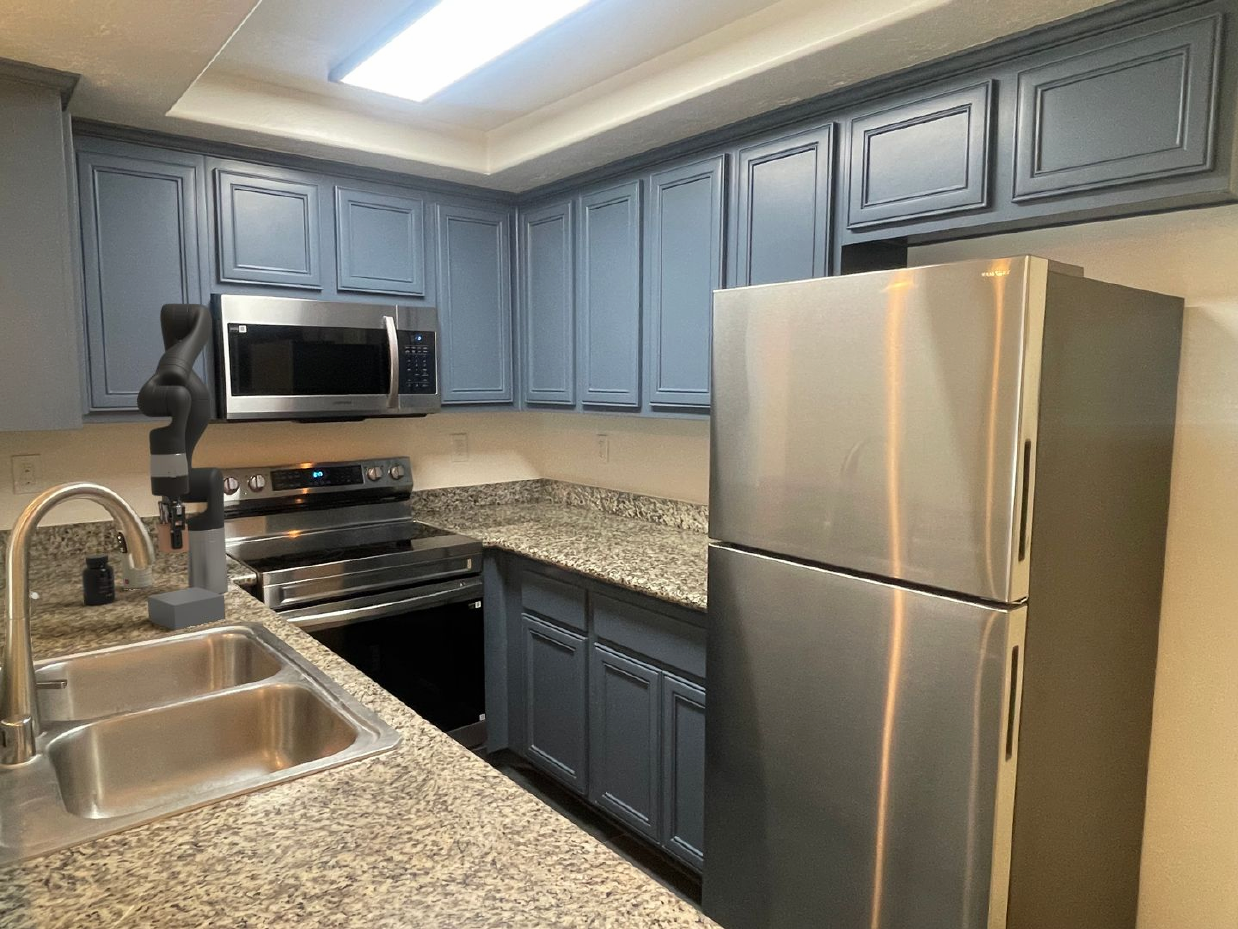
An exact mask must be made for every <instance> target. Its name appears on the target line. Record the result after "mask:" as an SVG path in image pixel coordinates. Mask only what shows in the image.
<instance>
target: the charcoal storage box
mask: <svg viewBox="0 0 1238 929" xmlns="http://www.w3.org/2000/svg"><path fill="white" fill-rule="evenodd" d="M147 609H148V610H147V611H148V621H149V620H150V621H149V622H151V621H152V622H151V623H154V622H155V623H154V624H157V625H158V626H162V627H165V628H167V627H168V628H167V629H171V630H172V631H180V630H185V629H184V628H186V629H188V628H187V627H190V626H195V627H198V626H197V625H199V626H202V625H201V624H203V625H205V624H204V623H208V624H210V623H209V622H212V623H214V622H213V621H217V622H219V621H218V620H221V619H225V620H226V603H225V595H224V594H222V593H220V594H218V593H215V592H211V591H208V590H204V589H201V588H198V587H194V588H189V587H188V588H184V589H178V590H175V591H169V592H164V593H159V594H151V595H148V596H147ZM221 621H222V620H221ZM190 628H191V627H190Z"/></svg>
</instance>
